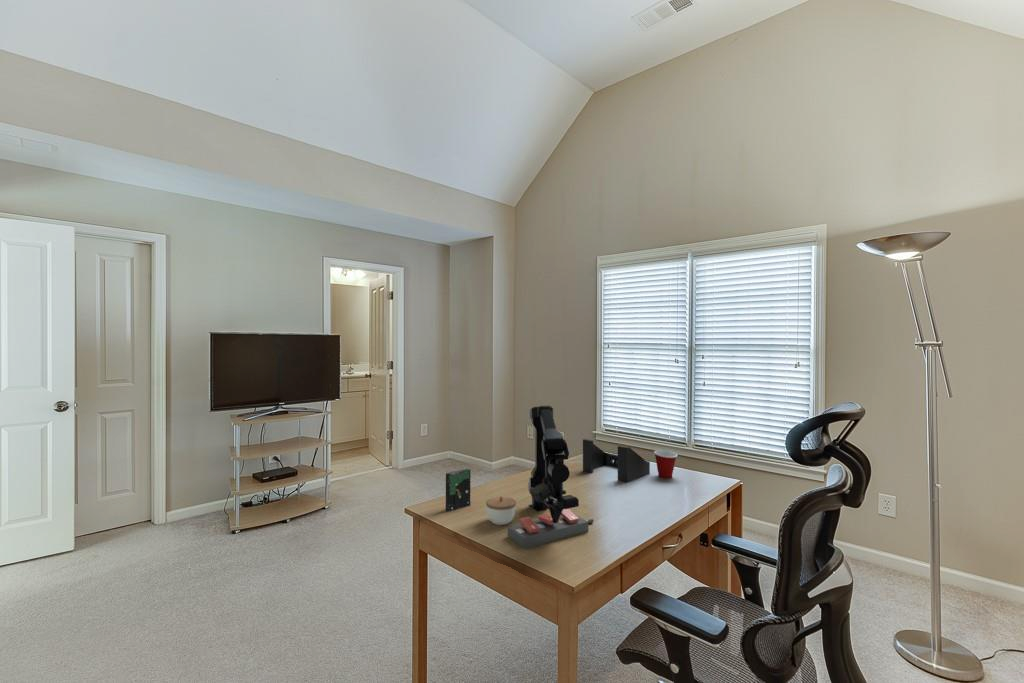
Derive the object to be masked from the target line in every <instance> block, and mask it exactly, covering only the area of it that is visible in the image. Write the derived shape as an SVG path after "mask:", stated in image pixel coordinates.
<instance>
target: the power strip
mask: <svg viewBox="0 0 1024 683" xmlns="http://www.w3.org/2000/svg"><path fill="white" fill-rule="evenodd" d="M575 515H576V516H577V517H578V518H579V521H578V522H574V523H569V522H568V521H567V520H566V519H564V518H563V517H562V516H561V515H560V517H559V523H555V524H551V525H549V524H547V523H545V522H542V521H540V520H538V519H536V520H532V521H533V522H534V523H535V524H536V525H537V526H538V527H539V528H540V530H539V531H538V532H534V533H529V532H528V531H527V530H526V529H525V528H524V527H523V526H522V525H521V524H520V523H519V524H515V525H511V526H508V527H507V537H508V538H509V539H510V540H512V541H513V542H514V543H515V544H516V545H518V546H519V547H521V548H522V549H524V550H525V549H528V548H531V547H535V546H540V545H543V544H546V543H550V542H555V541H558V540H561V539H566V538H568V537H573V536H577V535H581V534H583V533H588V532H589V524H592V523H594V519H593V518H590V519H584V518H583V517H581V516H579V515H577V514H575Z"/></svg>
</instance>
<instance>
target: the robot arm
mask: <svg viewBox="0 0 1024 683" xmlns="http://www.w3.org/2000/svg"><path fill="white" fill-rule="evenodd" d="M529 419H530V420H531V424H532V426H533V427H534V431H535V432H534V443H535V444H534V467H533V468H532V470H531V471H530V477H529V480H528V485H527V489H528V492H529V494H530V495H531V504H528V507H529V508H531V509H533V510H534V511H536V512H539V511H545V510H548V511H549V515H550V516H551V517H552V520H553V523H557V522H558V519H559V517H560V515H561V513H562V511H563V509H569V510H570V509H572V508H577V507H580V503H579V502H580V501H579V500H580V499H579V498H577V496H574V495H571V494H567V492H566V490H565V489H564V482H566V481H568V479H569V477H570V473H571V472H570V469H569V467H568V466H567V465H566V464H565V461H564V460H569V455H570V450H569V448H568V444H567V442H566V439H564V436H563V434H562V433H561V432H560V431H559V430H557V426H556V422H555V419H554V407H552V405H551V406H550V405H539V406H538V405H537V406H532V408H530V409H529ZM566 494H567V495H566Z"/></svg>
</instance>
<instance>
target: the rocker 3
mask: <svg viewBox="0 0 1024 683" xmlns="http://www.w3.org/2000/svg"><path fill="white" fill-rule="evenodd" d="M576 515H577V514H575V513H574V512H572V511H571V510H570V508H569V509H563V511H562V513H561V516H562V517H563V518H564V519H566V520H567V521H568V522H569V523H574V522H578V521H579V518H578V517H577V516H578V515H577V516H576Z"/></svg>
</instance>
